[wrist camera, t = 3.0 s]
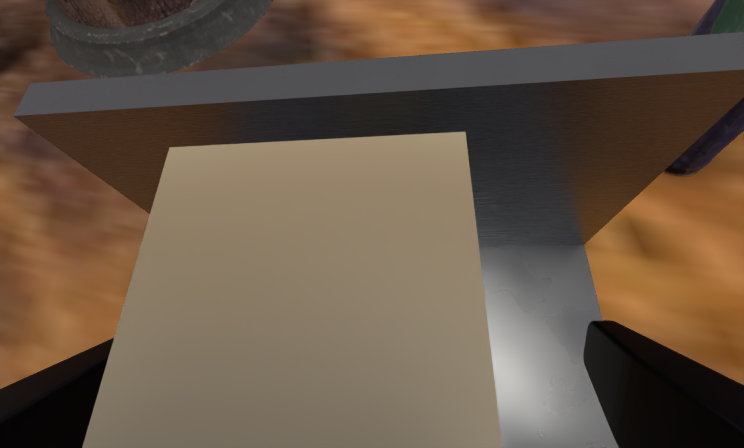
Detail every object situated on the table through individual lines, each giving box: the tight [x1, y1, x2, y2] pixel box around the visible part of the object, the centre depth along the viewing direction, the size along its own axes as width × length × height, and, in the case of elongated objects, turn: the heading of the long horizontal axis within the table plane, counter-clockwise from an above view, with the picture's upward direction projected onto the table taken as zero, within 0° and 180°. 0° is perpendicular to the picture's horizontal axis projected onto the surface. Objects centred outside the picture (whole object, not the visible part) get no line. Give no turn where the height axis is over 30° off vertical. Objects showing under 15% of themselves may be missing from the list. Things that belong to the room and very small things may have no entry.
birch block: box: [82, 132, 502, 448], centre depth 8 cm, size 4×3×12 cm
